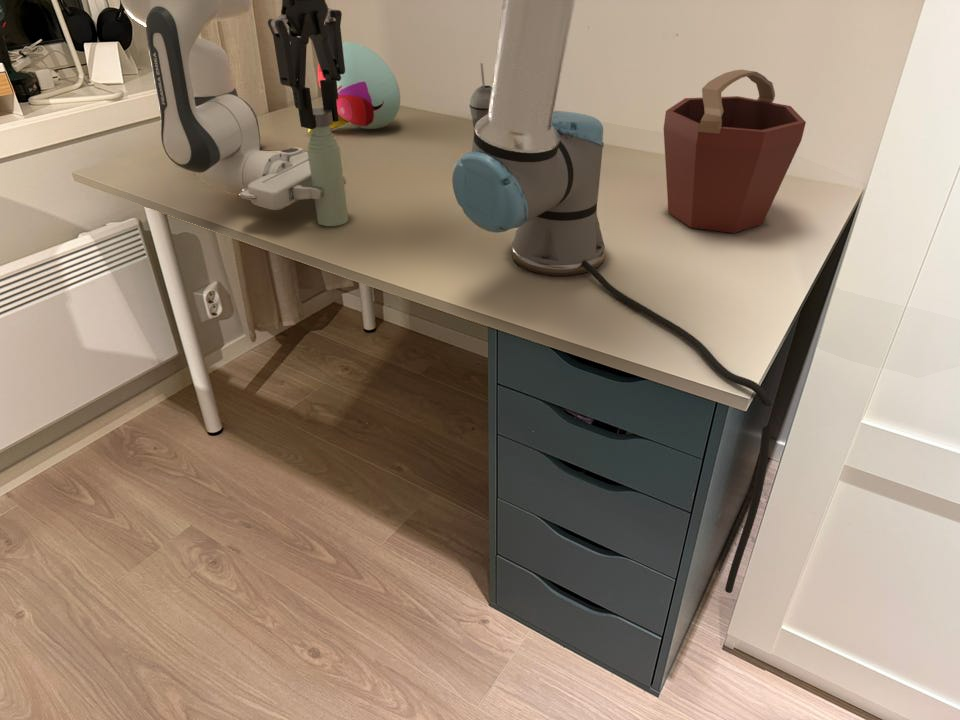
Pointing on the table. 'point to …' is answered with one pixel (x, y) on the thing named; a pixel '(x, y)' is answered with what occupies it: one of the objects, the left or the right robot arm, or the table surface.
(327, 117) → the cap
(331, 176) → the bottle
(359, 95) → the toy
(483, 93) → the beverage cup
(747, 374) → the table surface
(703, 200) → the bucket
